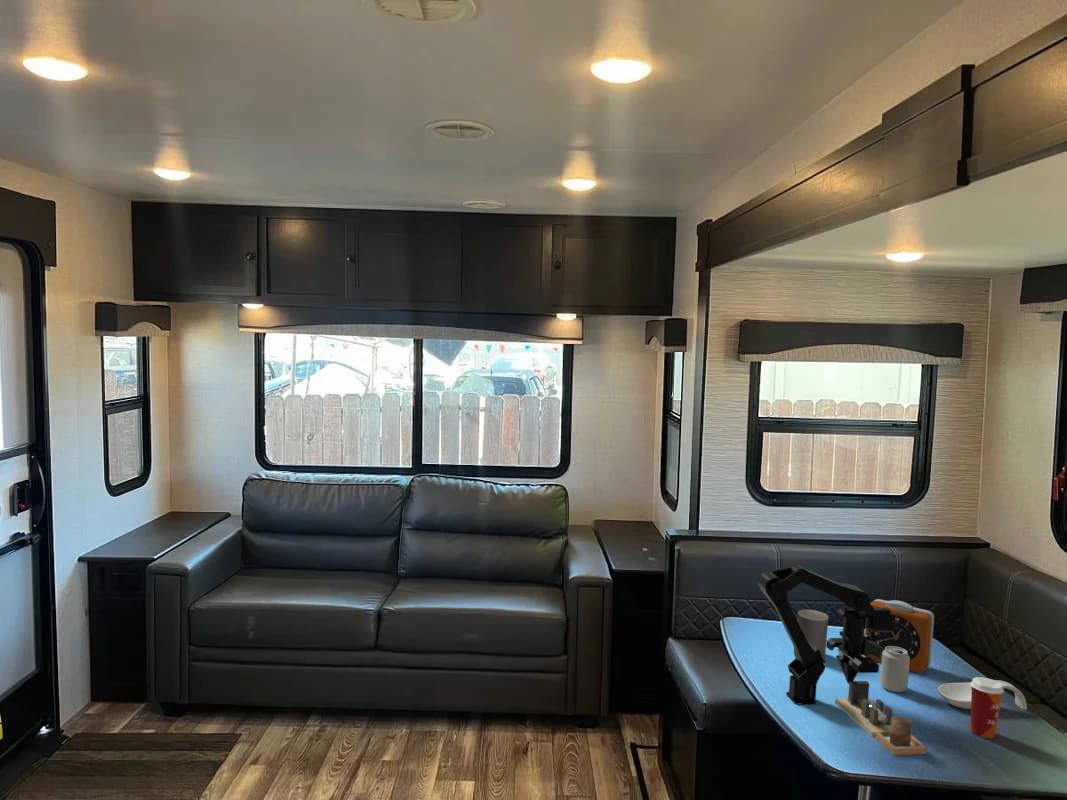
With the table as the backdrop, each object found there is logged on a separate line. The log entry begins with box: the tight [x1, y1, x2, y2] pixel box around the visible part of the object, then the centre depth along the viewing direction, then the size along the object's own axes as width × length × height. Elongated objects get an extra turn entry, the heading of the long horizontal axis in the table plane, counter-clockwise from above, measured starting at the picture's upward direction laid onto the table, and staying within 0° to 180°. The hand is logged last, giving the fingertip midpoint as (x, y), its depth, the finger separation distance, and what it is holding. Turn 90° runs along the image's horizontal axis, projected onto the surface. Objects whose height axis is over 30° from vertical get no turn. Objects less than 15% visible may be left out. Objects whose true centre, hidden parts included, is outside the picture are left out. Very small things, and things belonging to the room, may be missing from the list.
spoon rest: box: [937, 679, 1028, 711], centre depth 225 cm, size 24×12×7 cm, turn 90°
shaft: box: [847, 680, 888, 724], centre depth 214 cm, size 5×14×6 cm, turn 7°
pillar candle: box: [796, 609, 830, 660], centre depth 256 cm, size 10×10×15 cm
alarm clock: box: [864, 598, 935, 674], centre depth 252 cm, size 18×9×21 cm, turn 49°
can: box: [879, 646, 910, 694], centre depth 233 cm, size 8×8×12 cm
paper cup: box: [970, 676, 1005, 739], centre depth 208 cm, size 8×8×14 cm
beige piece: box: [834, 697, 893, 738], centre depth 214 cm, size 10×19×5 cm, turn 7°
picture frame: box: [875, 733, 928, 756], centre depth 199 cm, size 9×8×2 cm
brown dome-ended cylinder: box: [889, 715, 913, 747], centre depth 200 cm, size 5×5×6 cm
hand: (849, 683), depth 225 cm, fingers closed
